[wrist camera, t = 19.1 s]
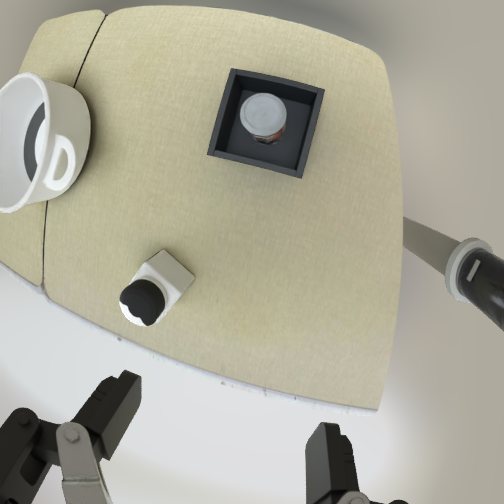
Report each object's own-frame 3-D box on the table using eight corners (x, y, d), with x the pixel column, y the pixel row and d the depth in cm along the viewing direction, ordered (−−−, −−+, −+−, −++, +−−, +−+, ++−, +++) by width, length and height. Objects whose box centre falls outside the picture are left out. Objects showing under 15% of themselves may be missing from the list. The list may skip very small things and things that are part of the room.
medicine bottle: (163, 247, 44) (127, 273, 33) (196, 276, 45) (170, 310, 33) (142, 277, 46) (106, 307, 35) (172, 303, 47) (144, 341, 35)
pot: (6, 172, 43) (-37, 179, 30) (36, 76, 36) (-8, 67, 23) (98, 230, 44) (47, 252, 31) (143, 104, 38) (94, 84, 25)
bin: (316, 104, 36) (325, 89, 28) (297, 177, 39) (301, 178, 32) (239, 85, 36) (231, 67, 28) (220, 157, 39) (206, 154, 32)
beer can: (247, 141, 38) (234, 129, 26) (254, 110, 36) (244, 86, 25) (280, 148, 37) (281, 139, 26) (288, 117, 36) (291, 95, 24)
